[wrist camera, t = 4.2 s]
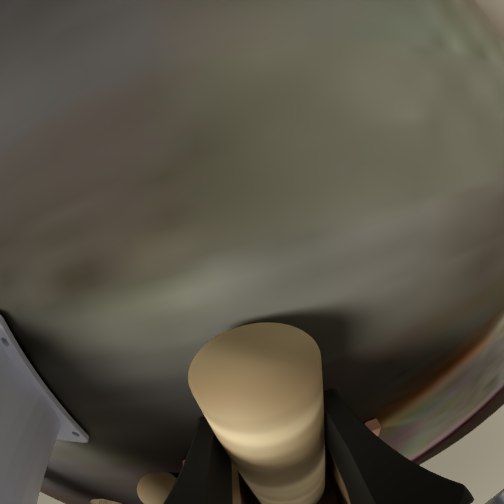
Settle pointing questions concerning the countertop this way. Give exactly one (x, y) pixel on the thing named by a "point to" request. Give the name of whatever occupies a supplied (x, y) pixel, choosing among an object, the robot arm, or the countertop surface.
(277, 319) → the countertop surface
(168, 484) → the short dowel
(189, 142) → the countertop surface
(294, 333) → the dowel
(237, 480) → the block
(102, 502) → the figurine
